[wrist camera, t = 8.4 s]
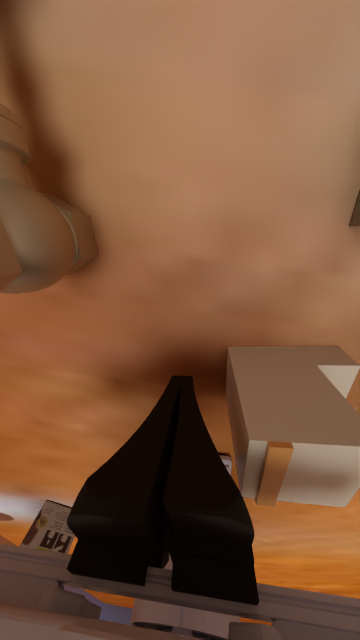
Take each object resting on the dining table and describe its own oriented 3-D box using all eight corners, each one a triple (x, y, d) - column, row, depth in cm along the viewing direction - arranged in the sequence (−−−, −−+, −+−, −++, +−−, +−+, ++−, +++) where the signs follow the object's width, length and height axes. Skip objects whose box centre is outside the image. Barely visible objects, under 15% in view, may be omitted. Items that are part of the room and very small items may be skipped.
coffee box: (45, 498, 27) (-129, 798, 13) (85, 511, 28) (-37, 811, 13) (41, 517, 31) (-95, 761, 17) (77, 528, 32) (-25, 772, 18)
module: (318, 397, 13) (405, 519, 8) (225, 395, 14) (241, 502, 8) (337, 346, 11) (472, 459, 6) (227, 346, 12) (250, 446, 6)
